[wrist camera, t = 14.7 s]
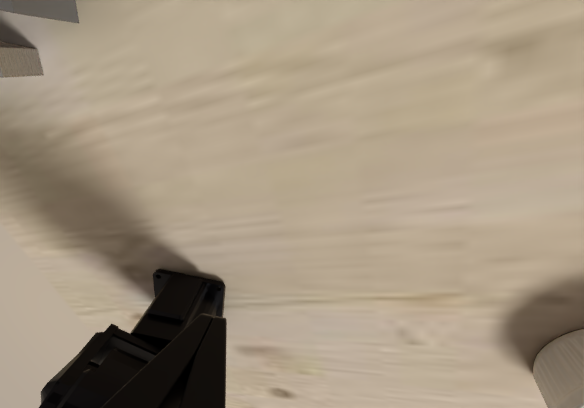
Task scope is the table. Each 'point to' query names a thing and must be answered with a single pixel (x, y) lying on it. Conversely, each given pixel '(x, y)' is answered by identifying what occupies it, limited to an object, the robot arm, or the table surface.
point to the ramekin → (562, 371)
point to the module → (43, 8)
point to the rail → (19, 61)
